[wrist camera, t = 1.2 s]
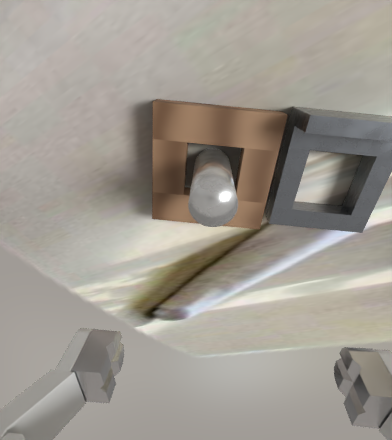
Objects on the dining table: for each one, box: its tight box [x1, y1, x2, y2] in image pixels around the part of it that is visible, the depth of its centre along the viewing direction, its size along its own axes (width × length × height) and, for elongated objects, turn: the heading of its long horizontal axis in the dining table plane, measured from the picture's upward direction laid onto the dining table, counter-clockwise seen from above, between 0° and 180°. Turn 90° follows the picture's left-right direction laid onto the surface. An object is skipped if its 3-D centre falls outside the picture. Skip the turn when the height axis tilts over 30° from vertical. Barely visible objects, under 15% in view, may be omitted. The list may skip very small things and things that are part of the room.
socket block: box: [152, 99, 288, 229], centre depth 32 cm, size 14×14×2 cm
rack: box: [266, 107, 392, 233], centre depth 30 cm, size 12×14×6 cm
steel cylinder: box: [188, 148, 238, 227], centre depth 28 cm, size 4×4×11 cm
